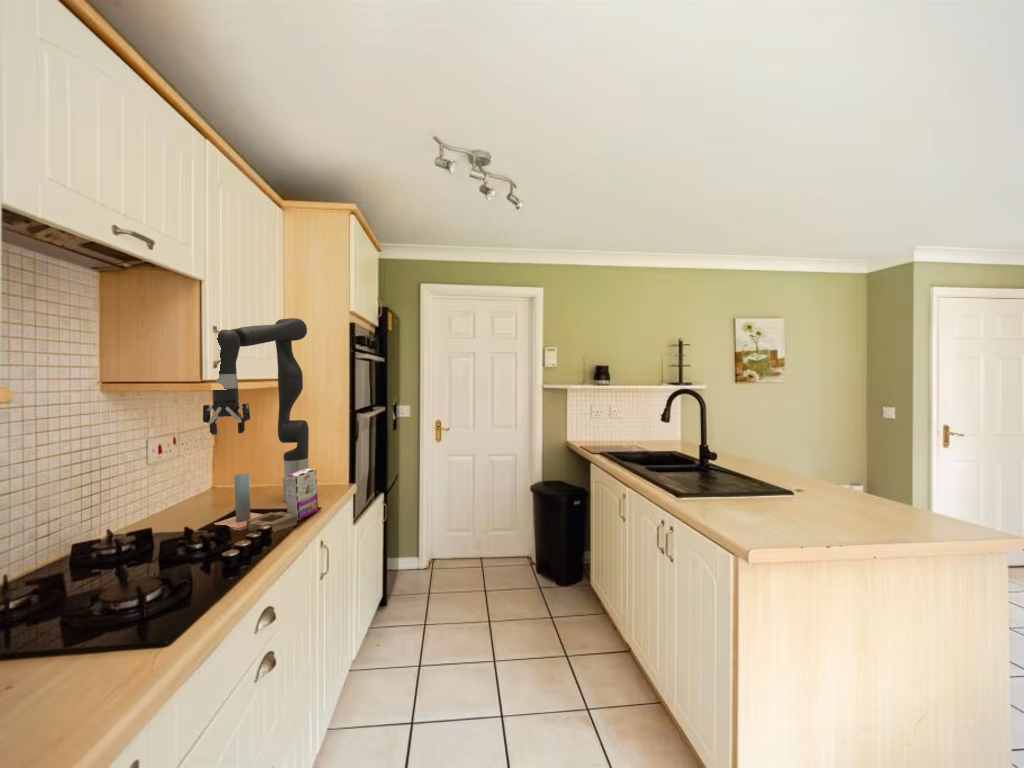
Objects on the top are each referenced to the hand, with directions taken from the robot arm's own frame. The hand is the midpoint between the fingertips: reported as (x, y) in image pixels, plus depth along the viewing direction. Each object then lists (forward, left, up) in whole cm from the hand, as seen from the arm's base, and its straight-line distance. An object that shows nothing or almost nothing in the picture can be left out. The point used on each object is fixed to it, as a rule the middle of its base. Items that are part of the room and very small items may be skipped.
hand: (227, 433), depth 155 cm
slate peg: (+2, +3, -31) cm, 31 cm away
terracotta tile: (+2, +3, -32) cm, 32 cm away
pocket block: (+16, +3, -32) cm, 36 cm away
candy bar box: (+17, +15, -32) cm, 39 cm away
